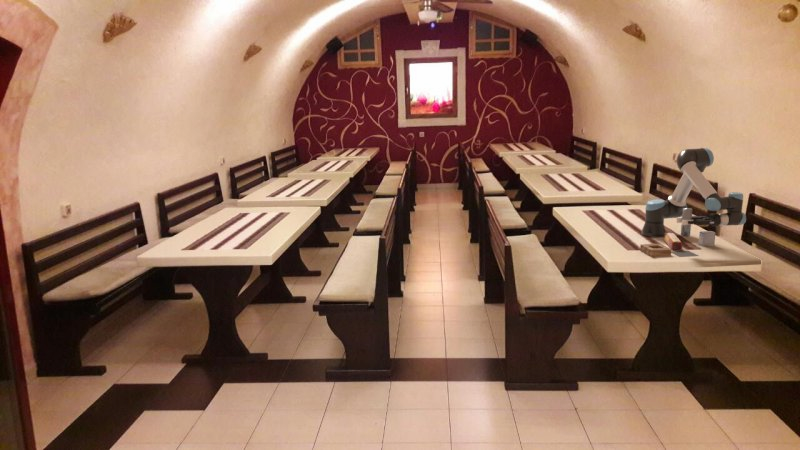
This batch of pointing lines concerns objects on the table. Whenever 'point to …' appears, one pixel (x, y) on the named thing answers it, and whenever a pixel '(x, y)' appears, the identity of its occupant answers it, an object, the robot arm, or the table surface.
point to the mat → (683, 253)
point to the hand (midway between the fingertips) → (679, 221)
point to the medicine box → (707, 238)
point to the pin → (686, 216)
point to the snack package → (673, 241)
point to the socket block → (655, 250)
